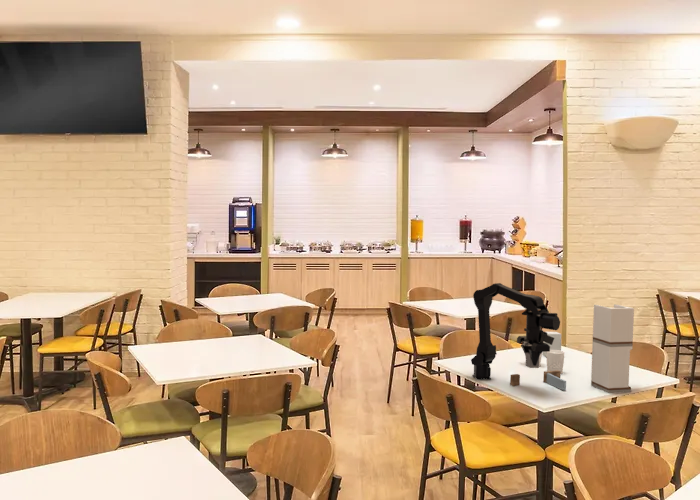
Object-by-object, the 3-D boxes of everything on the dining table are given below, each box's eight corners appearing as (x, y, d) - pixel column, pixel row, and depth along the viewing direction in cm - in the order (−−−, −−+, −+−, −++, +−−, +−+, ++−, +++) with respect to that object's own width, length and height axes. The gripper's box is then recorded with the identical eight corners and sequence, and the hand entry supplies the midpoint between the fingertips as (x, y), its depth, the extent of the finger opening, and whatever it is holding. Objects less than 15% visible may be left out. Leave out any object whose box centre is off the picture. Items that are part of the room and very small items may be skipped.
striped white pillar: (630, 392, 238) (634, 308, 237) (608, 393, 236) (611, 308, 234) (612, 384, 249) (615, 304, 248) (591, 385, 247) (593, 304, 246)
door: (546, 382, 250) (546, 373, 250) (551, 382, 250) (551, 373, 250) (563, 390, 238) (564, 381, 237) (568, 390, 238) (568, 380, 238)
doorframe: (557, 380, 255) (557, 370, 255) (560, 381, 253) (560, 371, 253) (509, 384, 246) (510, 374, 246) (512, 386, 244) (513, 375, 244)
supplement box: (561, 358, 298) (562, 334, 297) (546, 358, 298) (547, 333, 297) (556, 355, 305) (557, 331, 305) (542, 354, 305) (543, 331, 305)
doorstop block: (529, 367, 235) (530, 354, 235) (525, 365, 239) (525, 352, 239) (538, 367, 236) (539, 354, 236) (534, 365, 240) (535, 352, 240)
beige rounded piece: (565, 375, 263) (565, 353, 263) (547, 374, 265) (547, 352, 264) (562, 371, 271) (562, 350, 270) (544, 370, 272) (545, 349, 272)
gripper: (563, 330, 229) (561, 369, 229) (541, 322, 247) (540, 358, 248) (536, 331, 227) (535, 370, 228) (516, 322, 246) (515, 359, 246)
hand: (532, 364), depth 238 cm, fingers closed on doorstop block, 4 cm apart
